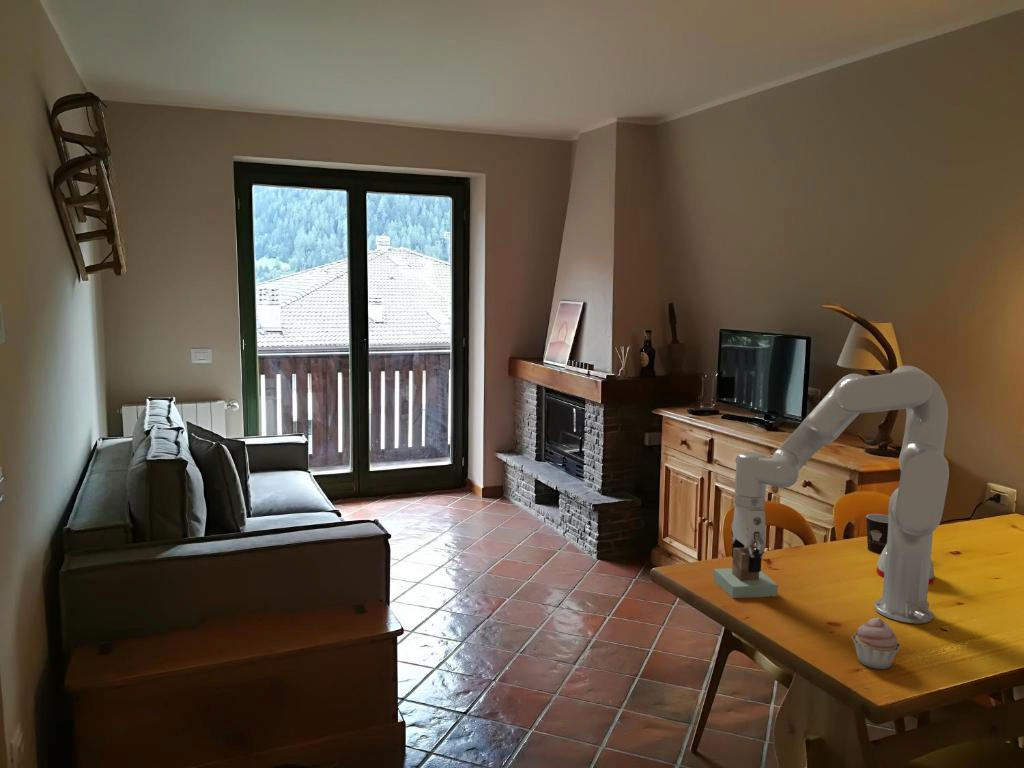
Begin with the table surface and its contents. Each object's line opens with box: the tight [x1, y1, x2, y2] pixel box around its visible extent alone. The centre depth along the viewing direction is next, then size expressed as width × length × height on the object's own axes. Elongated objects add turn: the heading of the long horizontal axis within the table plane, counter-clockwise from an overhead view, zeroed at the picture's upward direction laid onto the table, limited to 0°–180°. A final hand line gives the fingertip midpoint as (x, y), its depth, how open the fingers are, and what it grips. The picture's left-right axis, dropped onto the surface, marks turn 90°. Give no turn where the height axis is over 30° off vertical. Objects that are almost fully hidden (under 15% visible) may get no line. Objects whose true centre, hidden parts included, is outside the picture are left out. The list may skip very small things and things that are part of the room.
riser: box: [712, 567, 779, 599], centre depth 196 cm, size 12×12×3 cm
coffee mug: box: [865, 513, 889, 555], centre depth 224 cm, size 12×9×10 cm
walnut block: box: [731, 546, 759, 581], centre depth 195 cm, size 5×5×7 cm
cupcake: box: [850, 617, 902, 670], centre depth 157 cm, size 9×9×10 cm
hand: (745, 564), depth 195 cm, fingers open, 9 cm apart
